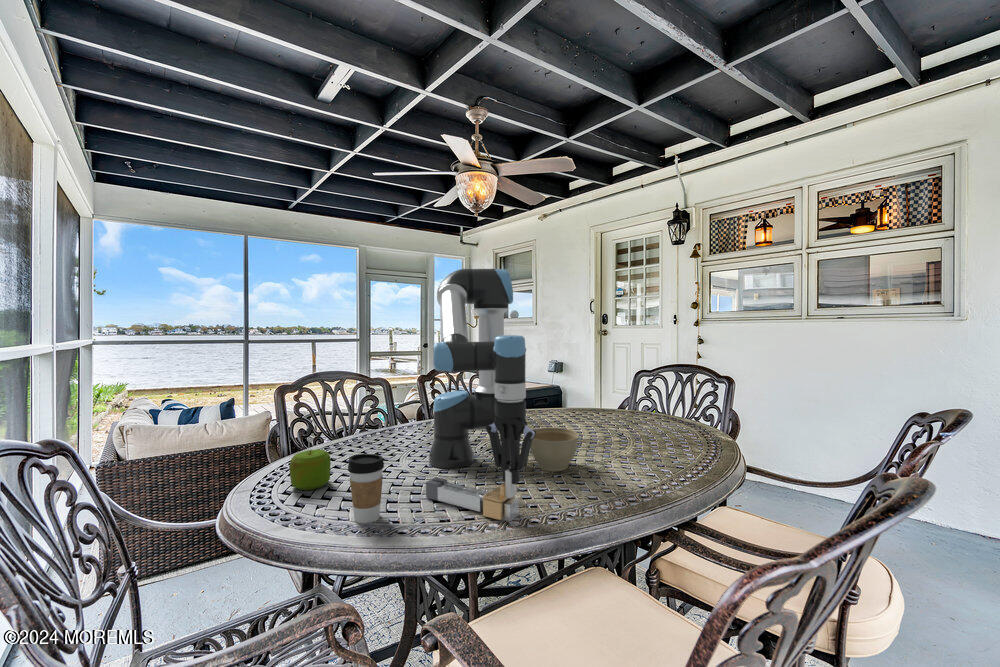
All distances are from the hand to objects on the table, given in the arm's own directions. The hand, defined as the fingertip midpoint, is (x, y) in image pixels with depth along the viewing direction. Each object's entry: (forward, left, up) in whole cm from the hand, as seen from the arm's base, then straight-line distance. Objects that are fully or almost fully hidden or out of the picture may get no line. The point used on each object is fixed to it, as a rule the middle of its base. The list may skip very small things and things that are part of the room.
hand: (510, 495), depth 107 cm
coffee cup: (-30, -18, -5) cm, 35 cm away
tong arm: (-16, +1, -5) cm, 17 cm away
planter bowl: (-6, +38, -5) cm, 39 cm away
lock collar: (-3, 0, -5) cm, 6 cm away
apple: (-60, -12, -5) cm, 61 cm away
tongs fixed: (-12, 0, -5) cm, 13 cm away
